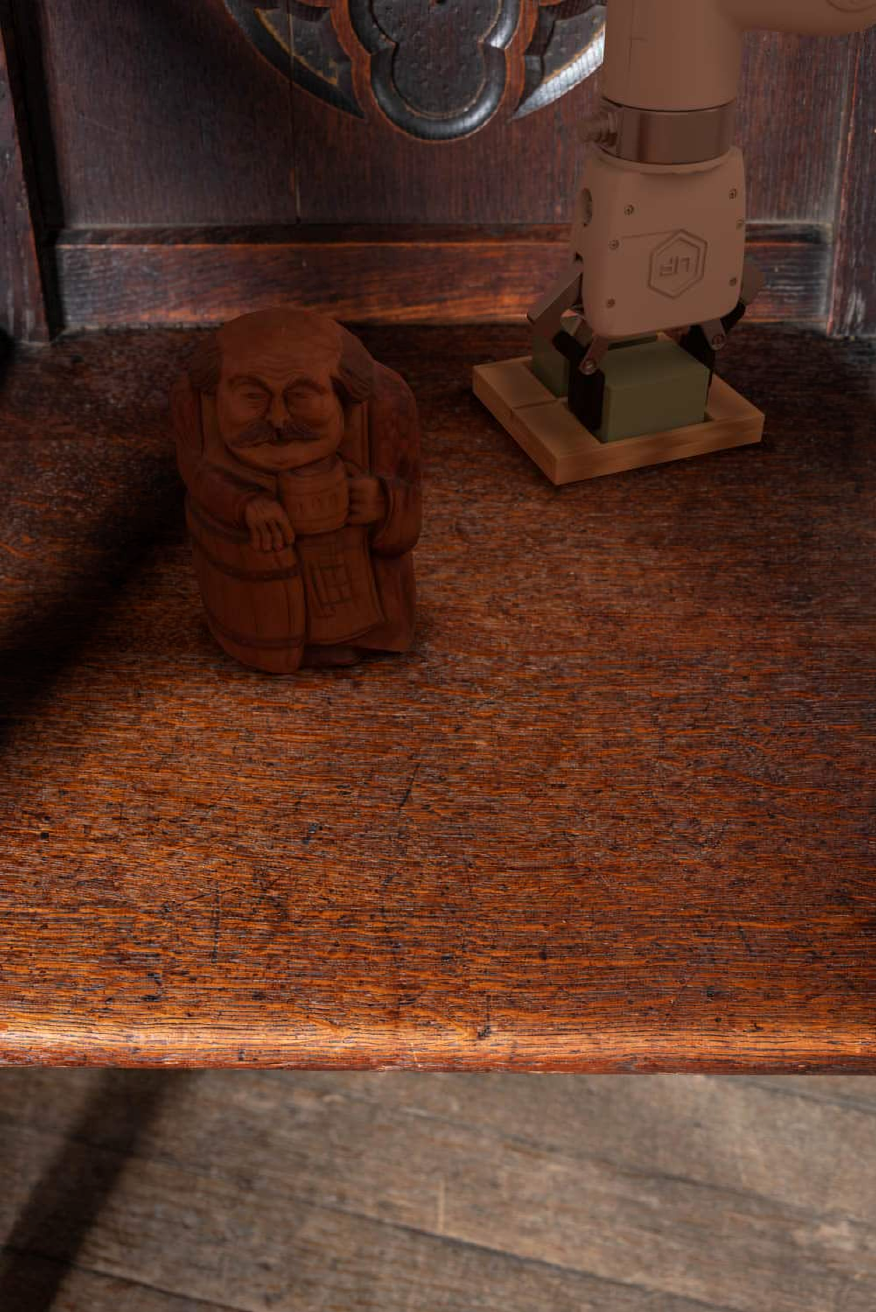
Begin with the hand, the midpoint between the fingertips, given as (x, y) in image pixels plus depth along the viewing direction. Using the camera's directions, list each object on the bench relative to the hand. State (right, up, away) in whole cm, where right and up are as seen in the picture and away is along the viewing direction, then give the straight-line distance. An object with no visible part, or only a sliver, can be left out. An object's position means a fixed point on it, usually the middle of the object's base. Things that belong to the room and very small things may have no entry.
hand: (638, 408), depth 82 cm
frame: (-1, 0, +4) cm, 4 cm away
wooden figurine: (-20, -15, -15) cm, 29 cm away
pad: (0, -1, 0) cm, 1 cm away
